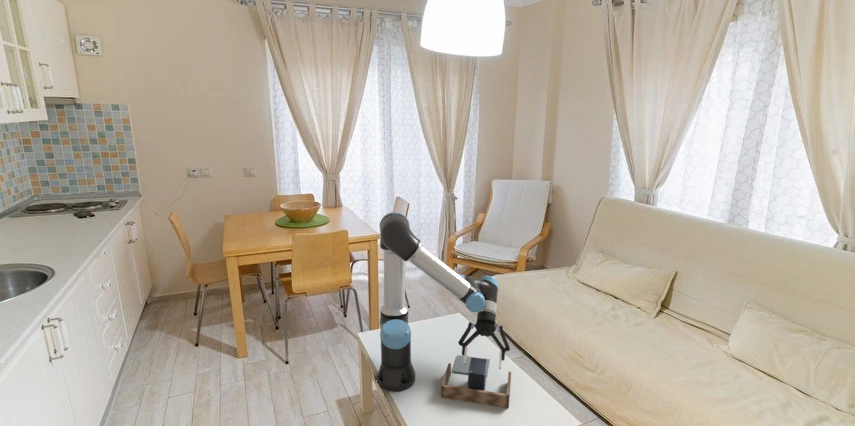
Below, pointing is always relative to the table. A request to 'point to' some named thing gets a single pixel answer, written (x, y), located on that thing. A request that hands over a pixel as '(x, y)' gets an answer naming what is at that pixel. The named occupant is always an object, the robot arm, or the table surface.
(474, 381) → the small box
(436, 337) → the table surface
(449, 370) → the walnut bay
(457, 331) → the table surface
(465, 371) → the rubber mat
